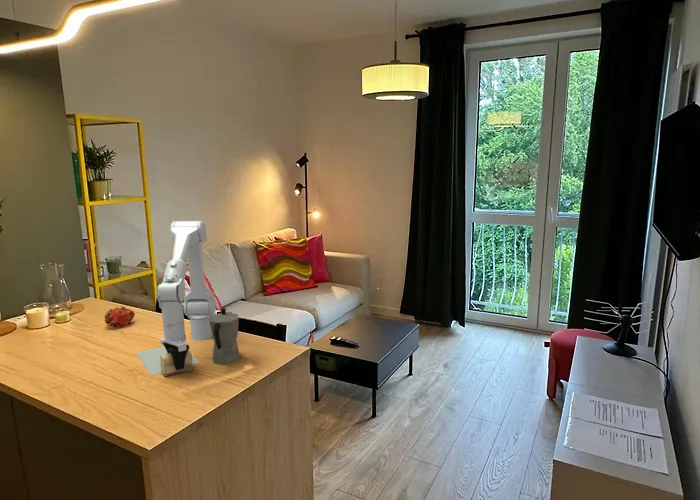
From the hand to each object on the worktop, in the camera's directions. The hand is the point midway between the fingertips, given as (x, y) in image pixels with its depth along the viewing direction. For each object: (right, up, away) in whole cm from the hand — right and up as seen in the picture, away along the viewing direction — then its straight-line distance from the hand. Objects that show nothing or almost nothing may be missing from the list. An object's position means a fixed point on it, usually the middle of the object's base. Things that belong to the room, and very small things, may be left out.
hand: (177, 366), depth 134 cm
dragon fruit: (-38, +5, +42) cm, 57 cm away
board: (-7, -1, +9) cm, 12 cm away
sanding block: (0, -1, 0) cm, 1 cm away
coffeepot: (+12, -2, +7) cm, 14 cm away
